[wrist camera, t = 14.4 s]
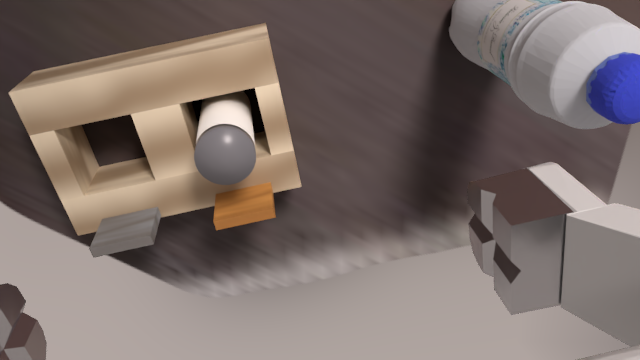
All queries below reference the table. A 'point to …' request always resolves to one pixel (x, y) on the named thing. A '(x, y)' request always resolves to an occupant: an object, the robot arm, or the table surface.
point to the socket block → (156, 135)
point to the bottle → (556, 56)
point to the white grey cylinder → (225, 139)
